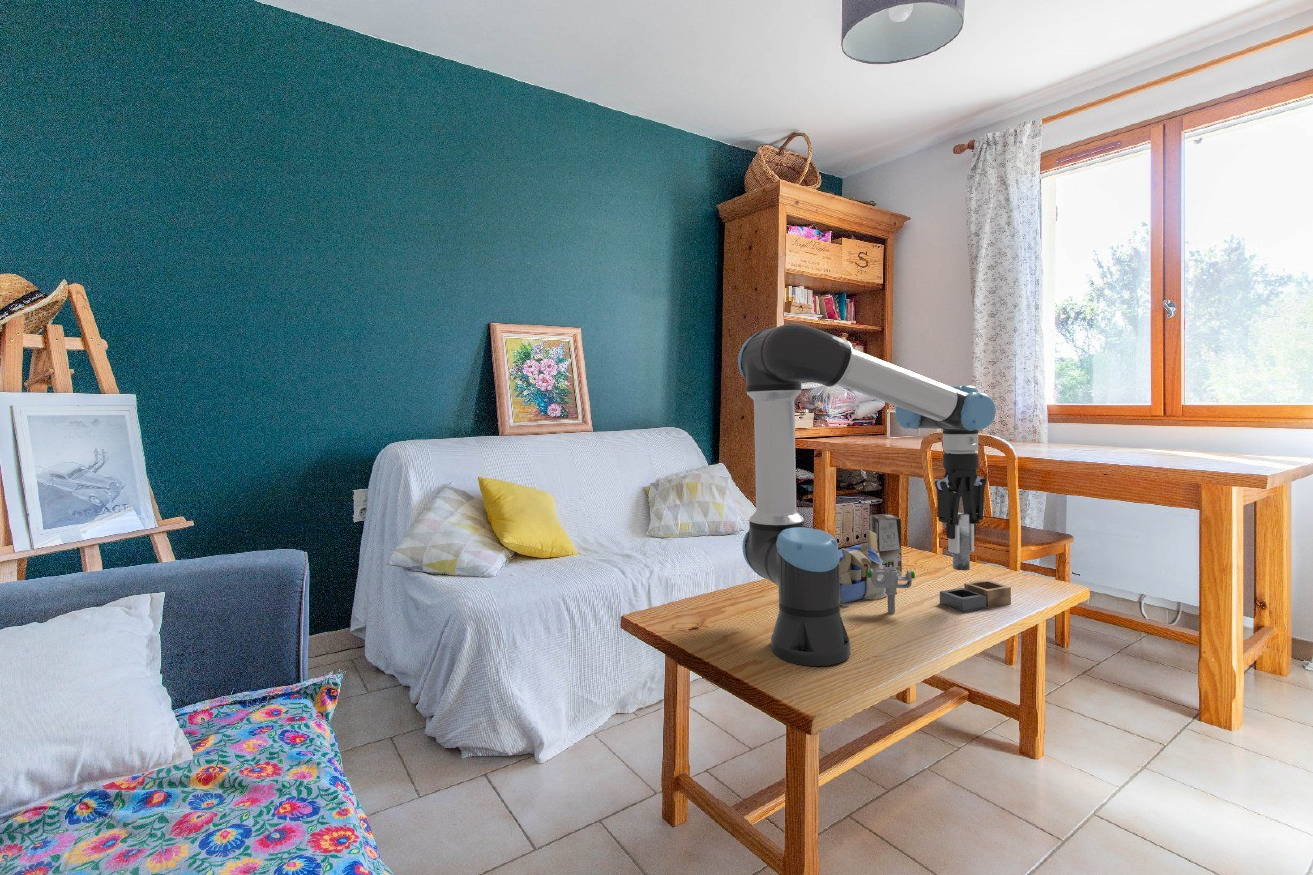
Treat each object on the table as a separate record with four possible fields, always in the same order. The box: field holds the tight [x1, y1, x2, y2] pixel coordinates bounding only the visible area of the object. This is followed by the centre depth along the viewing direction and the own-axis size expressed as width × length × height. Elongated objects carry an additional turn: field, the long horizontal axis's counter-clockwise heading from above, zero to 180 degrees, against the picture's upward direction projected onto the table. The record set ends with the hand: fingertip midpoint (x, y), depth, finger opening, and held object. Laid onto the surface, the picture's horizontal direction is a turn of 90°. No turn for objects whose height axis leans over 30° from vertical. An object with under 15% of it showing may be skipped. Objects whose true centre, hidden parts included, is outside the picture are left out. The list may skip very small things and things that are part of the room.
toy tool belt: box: [838, 529, 888, 609], centre depth 158 cm, size 26×16×16 cm, turn 122°
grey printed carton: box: [869, 513, 903, 576], centre depth 180 cm, size 9×6×16 cm
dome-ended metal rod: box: [952, 511, 971, 571], centre depth 148 cm, size 4×4×13 cm
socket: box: [939, 587, 987, 613], centre depth 149 cm, size 7×7×3 cm
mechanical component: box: [867, 569, 916, 615], centre depth 146 cm, size 3×10×10 cm, turn 78°
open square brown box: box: [963, 579, 1012, 609], centre depth 151 cm, size 7×7×4 cm
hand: (961, 551), depth 148 cm, fingers closed on dome-ended metal rod, 4 cm apart
